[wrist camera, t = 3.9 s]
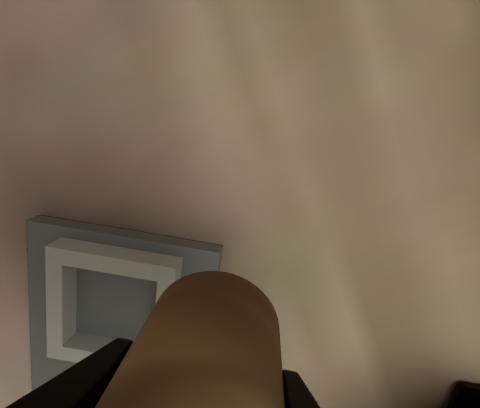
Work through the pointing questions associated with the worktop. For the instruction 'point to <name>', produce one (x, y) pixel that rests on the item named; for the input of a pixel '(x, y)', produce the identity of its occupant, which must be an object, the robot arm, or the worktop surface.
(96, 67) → the worktop surface
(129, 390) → the sleeve
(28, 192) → the worktop surface
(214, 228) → the worktop surface
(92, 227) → the socket board
